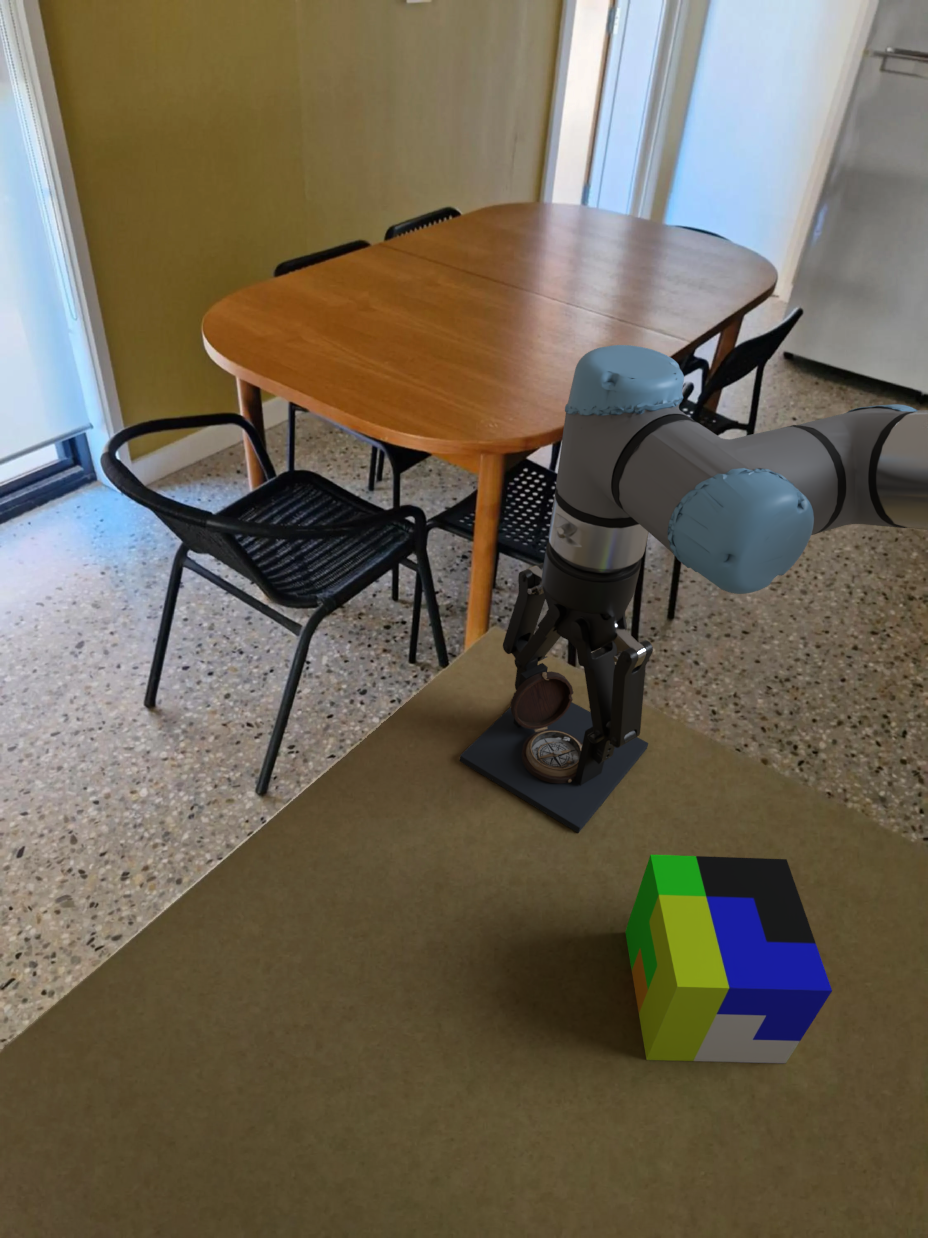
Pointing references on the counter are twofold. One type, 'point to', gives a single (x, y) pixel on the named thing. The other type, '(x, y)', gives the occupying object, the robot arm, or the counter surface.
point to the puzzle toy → (723, 960)
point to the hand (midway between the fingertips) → (556, 747)
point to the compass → (537, 709)
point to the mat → (563, 802)
